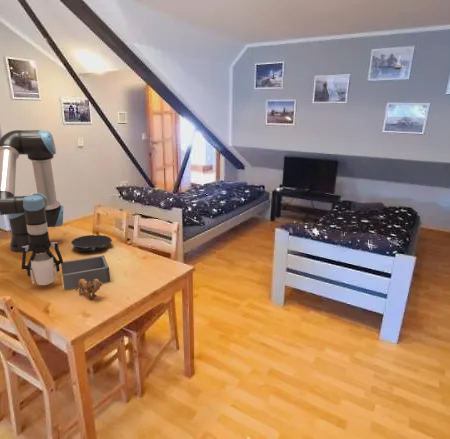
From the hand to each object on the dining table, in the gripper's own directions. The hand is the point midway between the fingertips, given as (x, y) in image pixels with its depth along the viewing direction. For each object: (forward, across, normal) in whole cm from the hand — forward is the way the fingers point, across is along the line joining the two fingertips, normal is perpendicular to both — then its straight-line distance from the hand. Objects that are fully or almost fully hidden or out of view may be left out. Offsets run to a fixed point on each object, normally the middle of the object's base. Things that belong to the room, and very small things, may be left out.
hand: (45, 279), depth 148 cm
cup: (+1, 0, 0) cm, 1 cm away
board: (+3, +24, +36) cm, 43 cm away
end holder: (+3, +16, 0) cm, 17 cm away
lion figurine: (+3, +16, -16) cm, 23 cm away
